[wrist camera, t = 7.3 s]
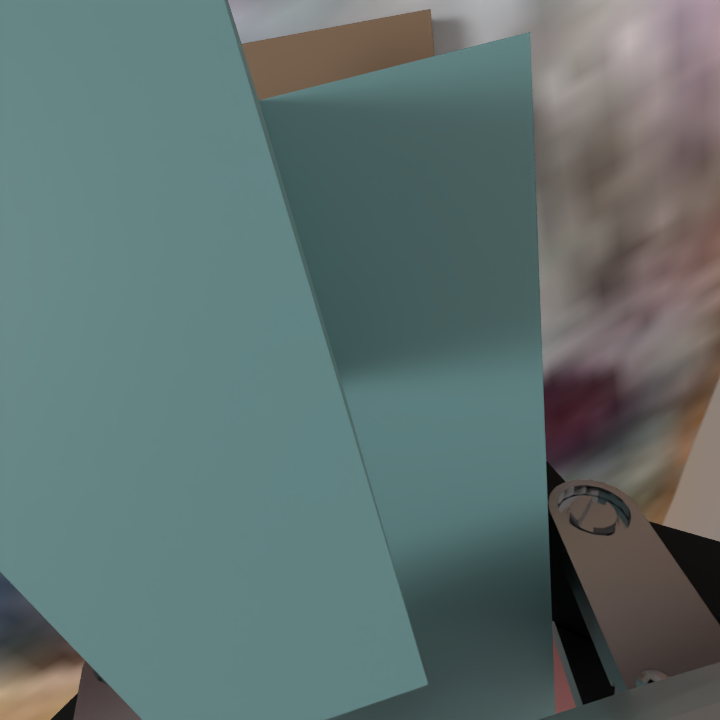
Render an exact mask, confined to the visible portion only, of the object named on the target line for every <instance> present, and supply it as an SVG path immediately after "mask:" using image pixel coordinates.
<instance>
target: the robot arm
mask: <svg viewBox="0 0 720 720" xmlns="http://www.w3.org/2000/svg"><path fill="white" fill-rule="evenodd" d="M546 473H547V500H548V526H549V553H550V580H551V606H552V633H553V638H554V642H555V645H556V648H557V651H558V654H559V657H560V660H561V663H562V666H563V669H564V672H565V675H566V678H567V681H568V684H569V687H570V690H571V693H572V696H573V699H574V702H575V705H576V707H575V708H572V709H569V710H566V711H563V712H560V713H557V714H554V715H551V716H548V717H545V718H541V719H538V720H720V542H719V541H715V540H712V539H708V538H705V537H701V536H698V535H694V534H691V533H687V532H684V531H680V530H677V529H673V528H670V527H666V526H663V525H659V524H656V523H652V522H649V521H648V520H647V519H646V517H645V516H644V514H643V513H642V511H641V510H640V509H639V507H638V506H637V505H636V503H635V502H634V501H633V500H632V499H631V498H630V497H629V496H628V495H626V494H625V493H623V492H622V491H620V490H619V489H617V488H615V487H613V486H610V485H608V484H606V483H603V482H598V481H593V480H572V481H567V482H565V481H564V480H563V479H562V478H561V476H560V475H559V474H558V473H557V472H556V471H555V470H554V469H553V468H552V467H551V466H550V464H549V463H548V462H547V461H546ZM51 720H142V719H141V718H140V717H139V716H138V715H137V714H136V713H135V712H134V711H133V710H132V709H131V707H130V706H129V705H128V704H127V703H126V702H125V701H124V700H123V699H122V698H121V697H120V696H119V695H118V694H117V693H116V692H115V691H114V690H113V689H112V688H111V687H110V686H109V685H108V683H107V682H106V681H105V680H104V679H103V678H102V677H101V676H100V675H99V674H98V673H97V672H96V671H95V670H94V669H93V668H92V667H91V666H90V665H89V664H88V663H87V662H86V661H85V662H84V665H83V668H82V674H81V679H80V685H79V691H78V693H77V694H76V695H75V696H74V697H73V698H72V699H71V700H70V701H69V702H68V703H67V704H66V705H65V706H64V707H63V708H62V709H61V710H60V711H59V712H58V713H57V714H56V715H55V716H54V717H53V718H52V719H51Z"/></svg>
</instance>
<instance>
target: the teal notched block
mask: <svg viewBox="0 0 720 720" xmlns="http://www.w3.org/2000/svg"><path fill="white" fill-rule="evenodd" d="M0 572H1V573H2V574H3V575H4V576H5V577H6V578H7V579H8V580H9V581H10V582H11V583H12V584H13V585H14V586H15V587H16V588H17V590H18V591H19V592H20V593H21V594H22V595H23V596H24V597H25V598H26V599H27V600H28V601H29V602H30V603H31V604H32V605H33V606H34V607H35V608H36V609H37V610H38V611H39V612H40V614H41V615H42V616H43V617H44V618H45V619H46V620H47V621H48V622H49V623H50V624H51V625H52V626H53V627H54V628H55V629H56V630H57V631H58V632H59V633H60V634H61V635H62V636H63V638H64V639H65V640H66V641H67V642H68V643H69V644H70V645H71V646H72V647H73V648H74V649H75V650H76V651H77V652H78V653H79V654H80V655H81V656H82V657H83V658H84V659H85V661H86V662H87V663H88V664H89V665H90V666H91V667H92V668H93V669H94V670H95V671H96V672H97V673H98V674H99V675H100V676H101V677H102V678H103V679H104V680H105V681H106V682H107V683H108V685H109V686H110V687H111V688H112V689H113V690H114V691H115V692H116V693H117V694H118V695H119V696H120V697H121V698H122V699H123V700H124V701H125V702H126V703H127V704H128V705H129V706H130V707H131V709H132V710H133V711H134V712H135V713H136V714H137V715H138V716H139V717H140V718H141V719H142V720H538V719H541V718H545V717H548V716H551V715H554V714H556V713H555V686H554V660H553V633H552V606H551V580H550V553H549V526H548V500H547V473H546V446H545V420H544V393H543V366H542V340H541V313H540V286H539V260H538V233H537V206H536V180H535V153H534V126H533V100H532V73H531V46H530V32H529V33H525V34H521V35H517V36H513V37H509V38H505V39H501V40H497V41H493V42H489V43H485V44H481V45H477V46H473V47H469V48H465V49H461V50H457V51H453V52H449V53H445V54H441V55H437V56H433V57H429V58H425V59H421V60H417V61H413V62H409V63H405V64H401V65H398V66H394V67H390V68H386V69H382V70H378V71H374V72H370V73H366V74H362V75H358V76H354V77H350V78H346V79H342V80H338V81H334V82H330V83H326V84H322V85H318V86H314V87H310V88H306V89H302V90H298V91H294V92H290V93H286V94H282V95H278V96H274V97H270V98H266V99H262V100H259V99H258V96H257V93H256V89H255V86H254V83H253V80H252V77H251V73H250V70H249V67H248V64H247V60H246V57H245V54H244V51H243V48H242V44H241V41H240V38H239V35H238V32H237V28H236V25H235V22H234V19H233V16H232V12H231V9H230V6H229V3H228V0H0Z"/></svg>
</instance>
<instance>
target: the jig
mask: <svg viewBox="0 0 720 720" xmlns="http://www.w3.org/2000/svg"><path fill="white" fill-rule="evenodd" d="M242 48H243V51H244V54H245V57H246V60H247V64H248V67H249V70H250V73H251V77H252V80H253V83H254V86H255V89H256V93H257V96H258V99H259V100H262V99H266V98H270V97H274V96H278V95H282V94H286V93H290V92H294V91H298V90H302V89H306V88H310V87H314V86H318V85H322V84H326V83H330V82H334V81H338V80H342V79H346V78H350V77H354V76H358V75H362V74H366V73H370V72H374V71H378V70H382V69H386V68H390V67H394V66H398V65H401V64H405V63H409V62H413V61H417V60H421V59H425V58H429V57H433V56H434V45H433V33H432V22H431V10H430V9H428V10H423V11H418V12H412V13H407V14H401V15H396V16H390V17H385V18H380V19H374V20H369V21H363V22H358V23H353V24H347V25H342V26H336V27H331V28H326V29H320V30H315V31H309V32H304V33H299V34H293V35H288V36H282V37H277V38H272V39H266V40H261V41H255V42H250V43H245V44H242Z"/></svg>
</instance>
